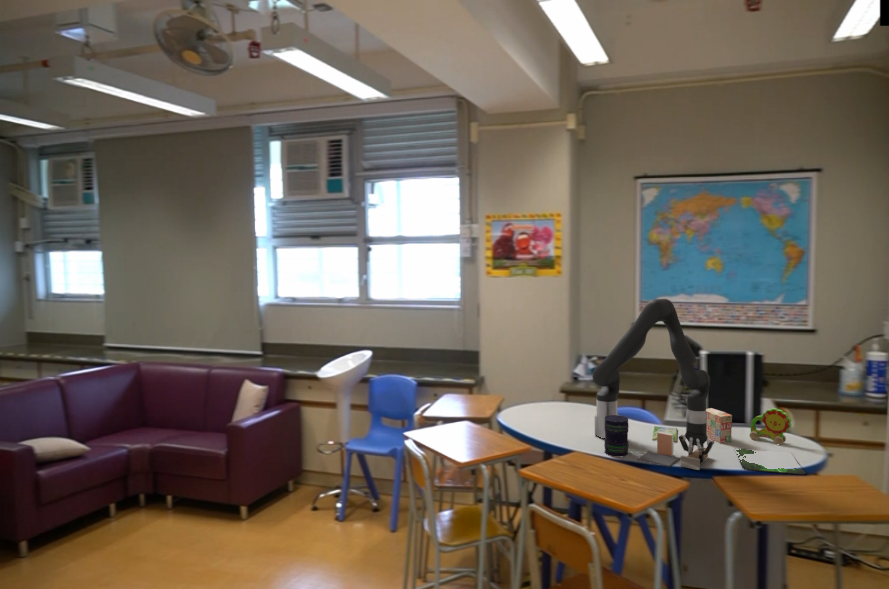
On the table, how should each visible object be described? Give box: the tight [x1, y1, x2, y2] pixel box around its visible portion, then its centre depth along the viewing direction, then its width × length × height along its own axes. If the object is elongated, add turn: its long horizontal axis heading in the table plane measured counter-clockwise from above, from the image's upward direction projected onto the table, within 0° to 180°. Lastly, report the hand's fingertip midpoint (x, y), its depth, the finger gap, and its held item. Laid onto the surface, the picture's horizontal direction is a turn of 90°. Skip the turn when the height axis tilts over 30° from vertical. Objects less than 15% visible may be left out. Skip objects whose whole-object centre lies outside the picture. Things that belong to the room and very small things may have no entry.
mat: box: [637, 451, 680, 468], centre depth 248 cm, size 13×11×1 cm
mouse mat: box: [736, 448, 807, 476], centre depth 244 cm, size 27×22×1 cm
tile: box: [656, 432, 674, 457], centre depth 253 cm, size 6×2×9 cm, turn 49°
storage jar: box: [603, 414, 630, 457], centre depth 257 cm, size 10×10×15 cm
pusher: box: [680, 447, 709, 471], centre depth 243 cm, size 17×7×4 cm, turn 139°
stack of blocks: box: [706, 407, 733, 444], centre depth 276 cm, size 21×6×12 cm, turn 18°
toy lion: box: [749, 407, 792, 446], centre depth 266 cm, size 16×5×15 cm, turn 44°
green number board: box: [652, 425, 678, 443], centre depth 280 cm, size 20×1×10 cm
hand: (696, 462), depth 243 cm, fingers closed on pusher, 2 cm apart
